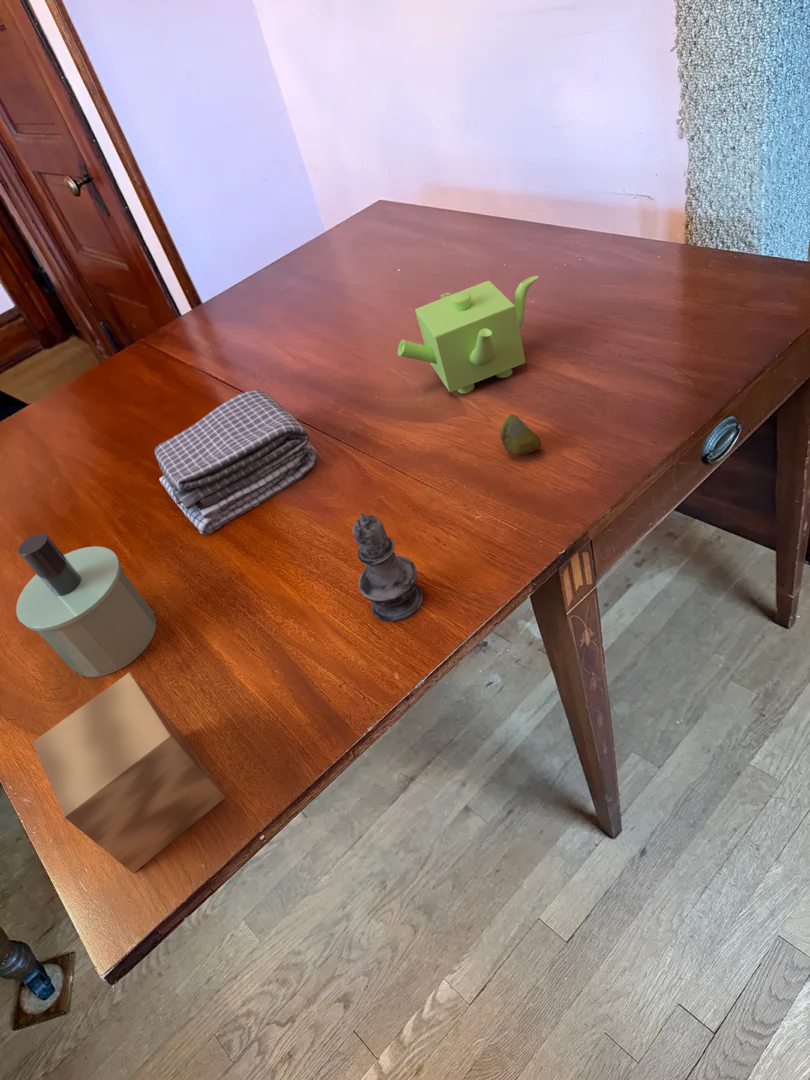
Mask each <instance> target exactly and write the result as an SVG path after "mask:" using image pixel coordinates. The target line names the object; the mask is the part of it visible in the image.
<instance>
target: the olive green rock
mask: <svg viewBox="0 0 810 1080" xmlns="http://www.w3.org/2000/svg"><path fill="white" fill-rule="evenodd" d="M499 431H500V432H499V433H500V434H499V435H500V440H501V442H502V444H503V446H504V447H505V449H506V450H507V451H508V452H510V453H512V454H514V455H527V454H532V453H533V452H536V451H537V450H539V449H540V448H541V446H542V445H543V443H542V441H541V439H540V437H539V436H538V435H537V434H536V433H535V432H534V431H533V430H532V429H531V428H530V427H529V426H528V425H527V424H525V422H524V421H523V420H522V419H520V418H519V417H518V416H517V415H514V414H512V413H511V414H510V415H508V416H507V417H506V418H505V419H504V421H503V422H502V424H501V427H500V430H499Z"/></svg>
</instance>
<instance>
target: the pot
mask: <svg viewBox="0 0 810 1080" xmlns="http://www.w3.org/2000/svg"><path fill="white" fill-rule="evenodd" d="M156 629H157V617H156V614H155V612H154V611H153V610H152V608H151V607H150V606H149V604H148V603H147V601H146V600H145V599H144V598H143V596H142V595H141V594H140V592H139V591H138V590H137V588H136V587H135V585H134V584H133V583H132V582H131V580H130V579H129V577H128V576H127V575H126V574H125V572H124V571H123V570H122V569H121V570H120V575H119V578H118V581H117V583H116V585H115V586H114V588H113V590H112V591H111V592H110V594H109V595H108V596H107V597H106V598H105V600H104V601H103V602H102V603H101V604H99V605H98V606H97V607H96V608H95V609H94V610H92V611H91V612H90V613H88V614H87V615H85V616H84V617H82V618H81V619H79V620H77V621H75V622H73V623H71V624H69V625H66V626H63V627H61V628H57V629H53V630H47V631H37V630H34V631H35V632H36V633H37V634H38V635H39V636H40V637H41V638H42V639H43V640H44V642H45V643H46V644H48V645H49V647H50V648H51V649H52V650H53V651H54V652H55V653H56V654H57V655H58V657H60V658H61V659H62V660H63V662H64V663H65V664H66V665H67V666H68V667H69V668H70V669H71V670H72V671H74V672H75V673H76V674H78V675H80V676H82V677H86V678H99V677H105V676H108V675H111V674H114V673H115V672H118V671H120V670H121V669H123V668H125V667H126V666H128V665H130V664H131V663H132V662H134V661H135V660H136V659H137V658H138V657H139V656H140V655H141V654H142V653H143V652H144V651H145V650H146V649H147V647H148V646H149V644H150V643H151V641H152V639H153V637H154V635H155V632H156Z"/></svg>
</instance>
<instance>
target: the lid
mask: <svg viewBox="0 0 810 1080" xmlns="http://www.w3.org/2000/svg"><path fill="white" fill-rule="evenodd" d="M17 553H18V554H19V555H20V557H21V558H22V559H23V560H24V561H25V562H26V564H27V565H28V566H29V567H30V568H31V569H32V571H34V573H35V574H34V576H32V578H31V579H30V580H29V581H28V582H27V583H26V584H25V586H24V588H23V589H22V590H21V592H20V594H19V597H18V598H17V602H16V606H15V612H16V613H15V614H16V617H17V619H18V621H19V623H21V624H22V625H23V626H24V627H25V628H27V629H28V630H32V631H35V630H37V631H47V630H53V629H57V628H61V627H63V626H66V625H69V624H71V623H73V622H75V621H77V620H79V619H81V618H82V617H84V616H85V615H87V614H88V613H90V612H91V611H92V610H94V609H95V608H96V607H97V606H98V605H99V604H101V603H102V602H103V601H104V600H105V598H106V597H107V596H108V595H109V594H110V592H111V591H112V590H113V588H114V586H115V585H116V583H117V581H118V578H119V575H120V570H122V566H121V561H120V559H119V557H118V555H117V554H116V553H115V552H114V551H113V550H111V548H108V547H104V546H98V545H97V546H96V545H95V546H87V547H86V546H85V547H80V548H77V549H75V550H71V551H69V552H67V553H65V554H63V553H62V552H61V550H60V549H59V548H58V547H57V545H56V544H55V543H54V542H53V541H52V539H51V538H50V536H48V534H47V533H46V532H45V533H44V532H37V533H35V534H32V535H30V536H29V537H27V538H25V539H24V540H23V541H22V542H21V543H20V545H19V546H18V549H17Z"/></svg>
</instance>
